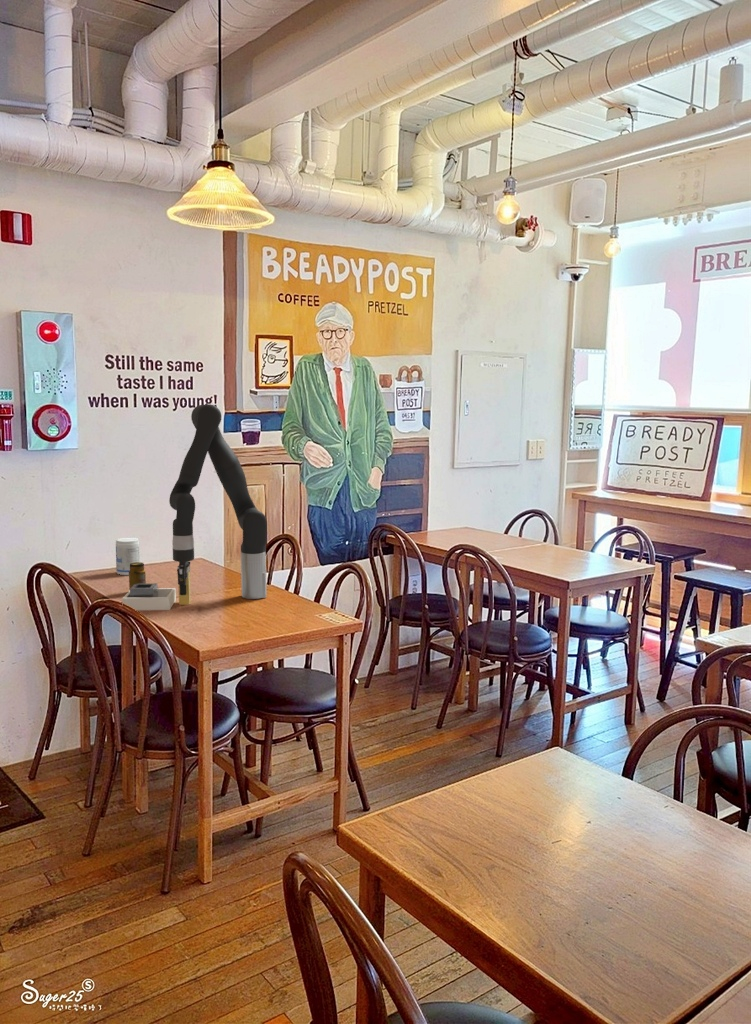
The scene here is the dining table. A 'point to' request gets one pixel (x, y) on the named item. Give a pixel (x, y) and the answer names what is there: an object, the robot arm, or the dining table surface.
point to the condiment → (136, 574)
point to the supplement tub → (126, 554)
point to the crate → (152, 600)
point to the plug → (186, 598)
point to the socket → (144, 590)
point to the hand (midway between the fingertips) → (184, 592)
